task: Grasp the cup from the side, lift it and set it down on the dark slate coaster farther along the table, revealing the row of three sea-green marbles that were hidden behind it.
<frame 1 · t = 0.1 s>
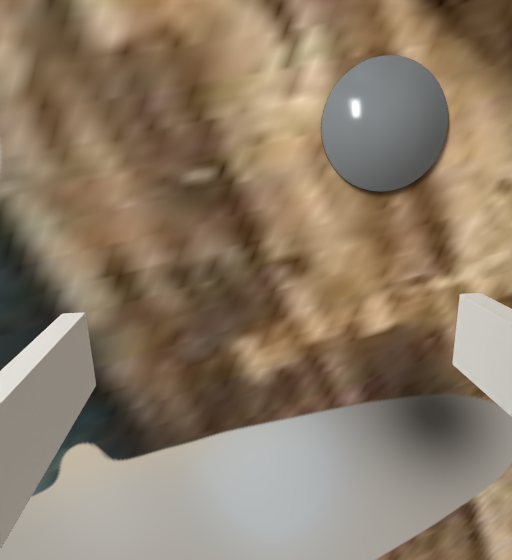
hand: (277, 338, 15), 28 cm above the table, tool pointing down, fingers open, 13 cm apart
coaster: (383, 126, 40), on the table
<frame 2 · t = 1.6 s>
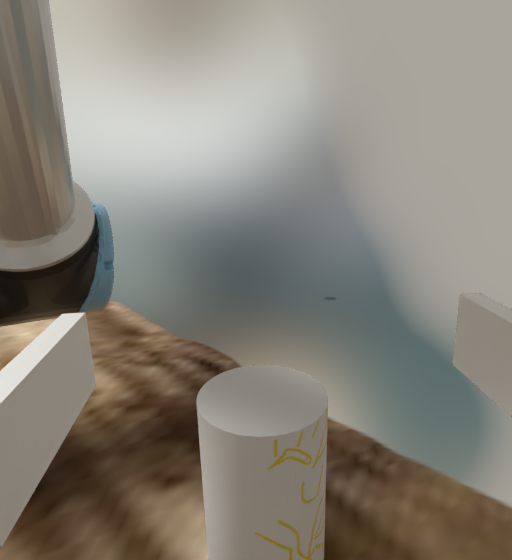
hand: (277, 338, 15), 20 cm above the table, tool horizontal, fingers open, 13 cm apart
cup: (265, 548, 30), on the table
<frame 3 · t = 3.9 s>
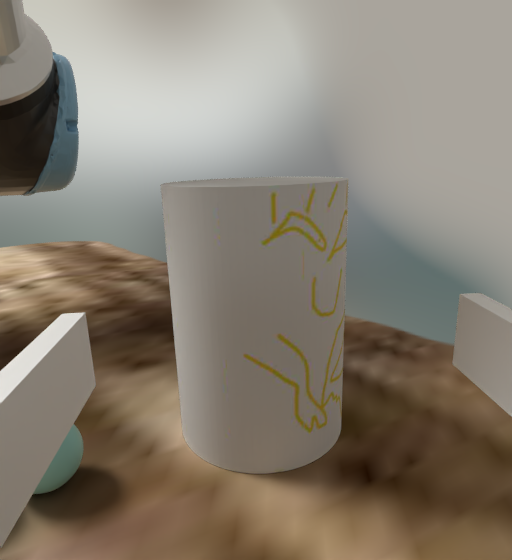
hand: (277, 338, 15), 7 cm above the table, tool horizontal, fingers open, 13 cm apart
cup: (261, 421, 22), on the table
marble 1: (50, 483, 18), on the table
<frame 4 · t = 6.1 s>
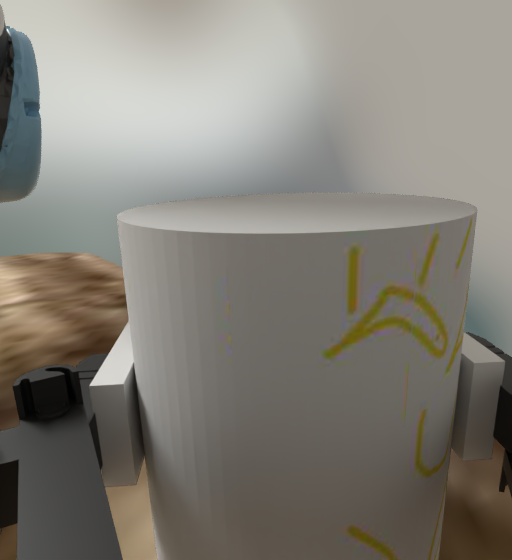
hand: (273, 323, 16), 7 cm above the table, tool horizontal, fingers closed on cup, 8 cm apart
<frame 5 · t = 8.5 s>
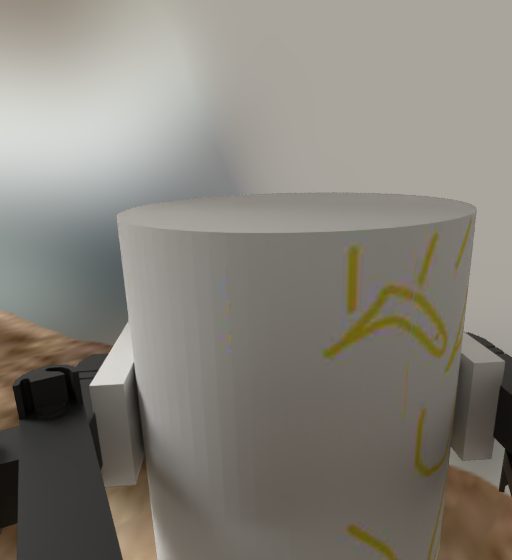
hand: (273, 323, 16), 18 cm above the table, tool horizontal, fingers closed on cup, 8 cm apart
when the fingers open (9 cm above the table, at t = 10.8 s): cup drops 1 cm, resting on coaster.
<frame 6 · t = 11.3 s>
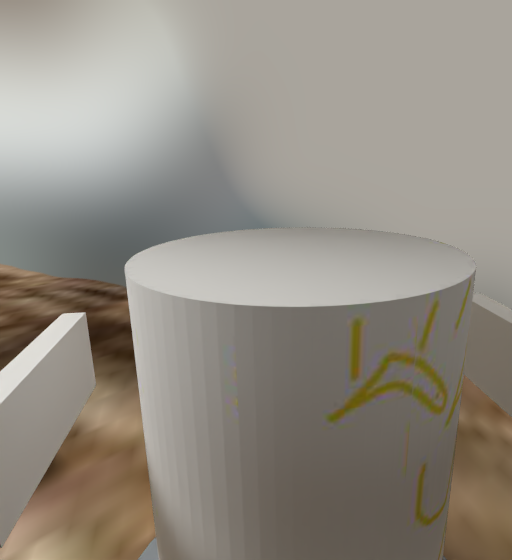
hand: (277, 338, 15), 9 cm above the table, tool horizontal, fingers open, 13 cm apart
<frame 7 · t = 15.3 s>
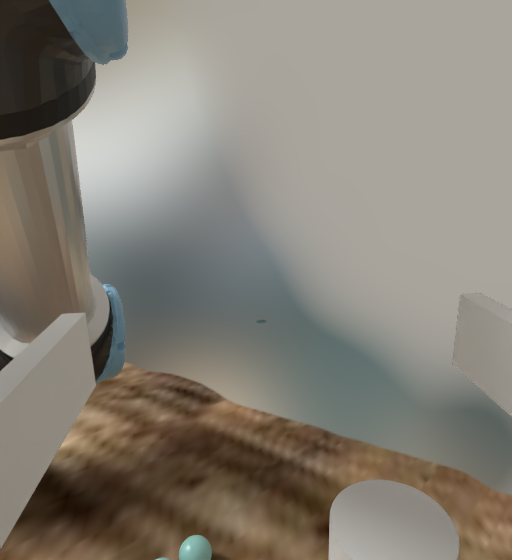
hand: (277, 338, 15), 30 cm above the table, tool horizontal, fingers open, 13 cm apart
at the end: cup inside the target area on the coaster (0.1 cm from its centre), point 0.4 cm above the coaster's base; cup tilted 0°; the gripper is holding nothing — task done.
